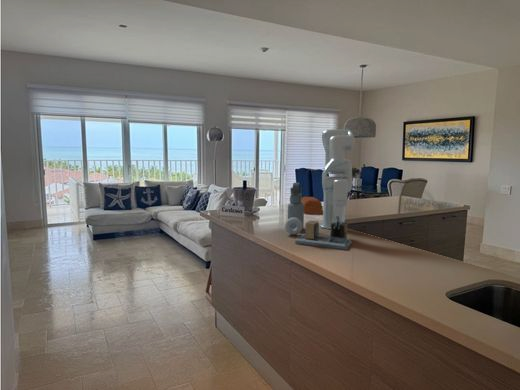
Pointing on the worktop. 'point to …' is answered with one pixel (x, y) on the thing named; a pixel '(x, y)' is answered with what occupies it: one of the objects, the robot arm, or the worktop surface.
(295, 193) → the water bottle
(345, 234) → the tan wooden block
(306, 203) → the bread
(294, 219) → the donut
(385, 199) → the worktop surface
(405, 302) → the worktop surface
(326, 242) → the rail
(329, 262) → the worktop surface
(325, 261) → the worktop surface
